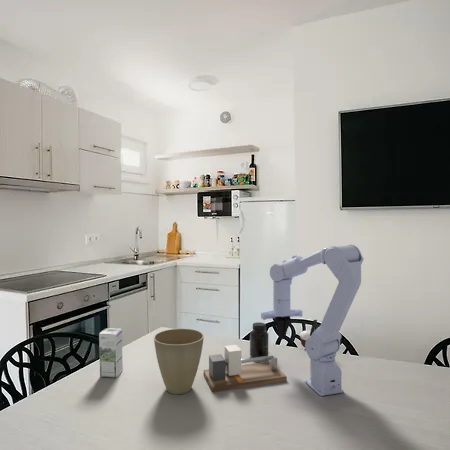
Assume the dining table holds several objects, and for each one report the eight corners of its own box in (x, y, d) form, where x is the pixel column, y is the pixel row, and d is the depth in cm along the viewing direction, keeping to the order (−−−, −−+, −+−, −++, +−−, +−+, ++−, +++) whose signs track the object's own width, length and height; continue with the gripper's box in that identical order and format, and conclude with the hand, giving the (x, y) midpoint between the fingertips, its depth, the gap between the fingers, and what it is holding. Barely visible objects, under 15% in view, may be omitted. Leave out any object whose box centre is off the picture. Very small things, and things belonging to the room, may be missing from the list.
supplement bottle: (269, 360, 128) (269, 327, 128) (250, 360, 129) (250, 327, 128) (267, 352, 135) (267, 321, 135) (249, 352, 135) (249, 321, 135)
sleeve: (241, 374, 112) (241, 350, 111) (229, 375, 110) (229, 351, 110) (236, 367, 116) (236, 344, 116) (224, 369, 115) (224, 346, 115)
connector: (225, 379, 110) (225, 360, 110) (212, 381, 109) (212, 361, 109) (221, 372, 115) (221, 354, 115) (209, 374, 114) (208, 355, 114)
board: (286, 381, 112) (286, 376, 112) (212, 391, 105) (212, 386, 105) (271, 365, 124) (271, 361, 124) (203, 374, 117) (203, 369, 117)
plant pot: (196, 403, 99) (195, 346, 99) (146, 398, 102) (145, 342, 102) (209, 379, 114) (209, 329, 113) (165, 375, 117) (164, 326, 116)
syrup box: (123, 370, 120) (122, 327, 120) (116, 378, 114) (115, 333, 114) (107, 369, 121) (106, 327, 120) (99, 377, 115) (98, 333, 115)
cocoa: (299, 344, 145) (297, 314, 146) (314, 343, 145) (313, 314, 145) (303, 351, 136) (301, 320, 136) (319, 351, 136) (318, 319, 136)
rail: (277, 370, 117) (277, 355, 116) (217, 378, 111) (217, 363, 111) (274, 367, 118) (274, 353, 118) (216, 375, 113) (216, 360, 113)
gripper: (295, 295, 128) (295, 332, 128) (257, 297, 124) (257, 336, 124) (305, 299, 121) (305, 339, 121) (265, 302, 117) (265, 343, 117)
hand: (281, 338), depth 122 cm, fingers closed
